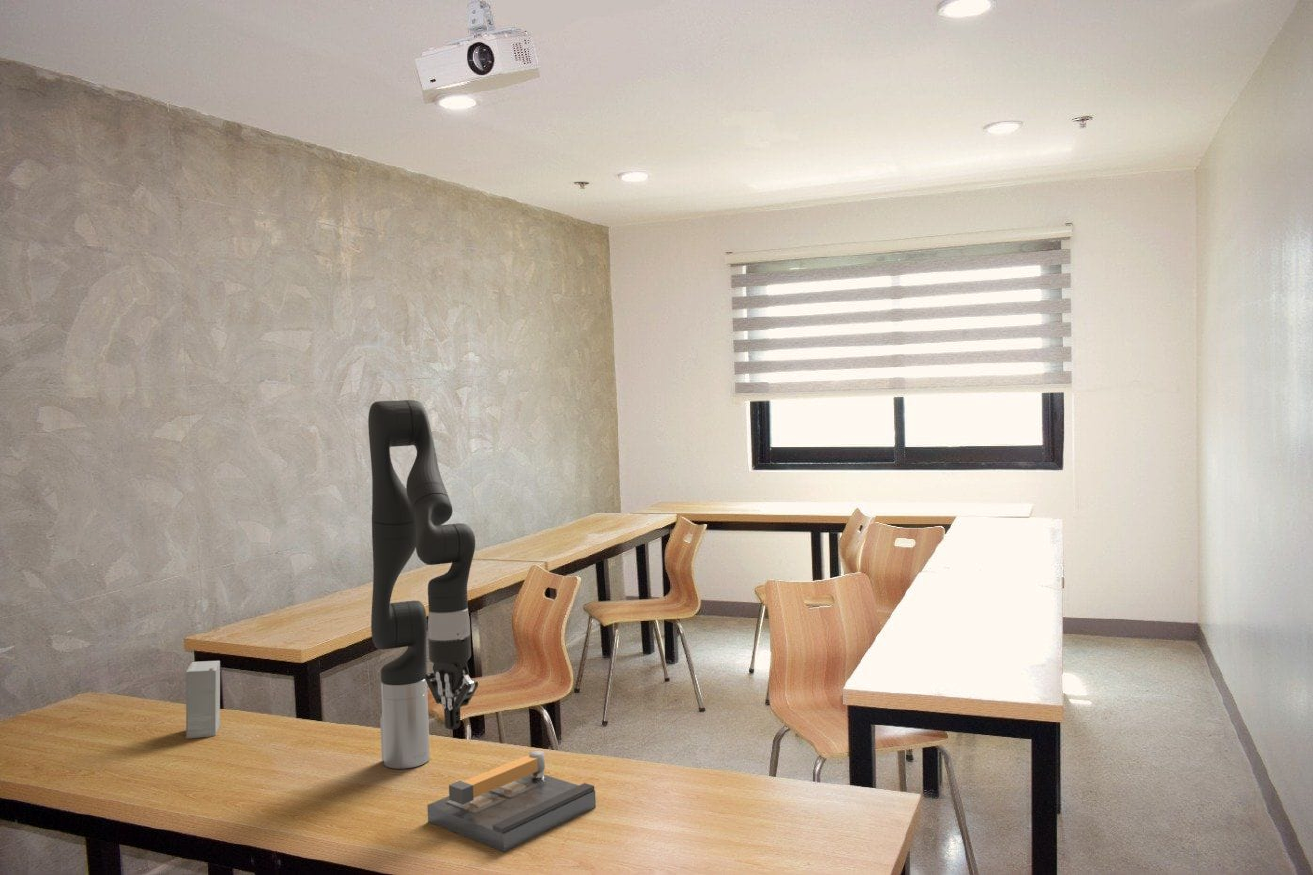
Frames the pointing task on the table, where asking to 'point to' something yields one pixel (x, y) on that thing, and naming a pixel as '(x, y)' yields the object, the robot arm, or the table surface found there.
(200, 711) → the skincare box
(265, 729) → the table surface
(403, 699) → the robot arm
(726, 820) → the table surface
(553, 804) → the plate
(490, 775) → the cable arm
